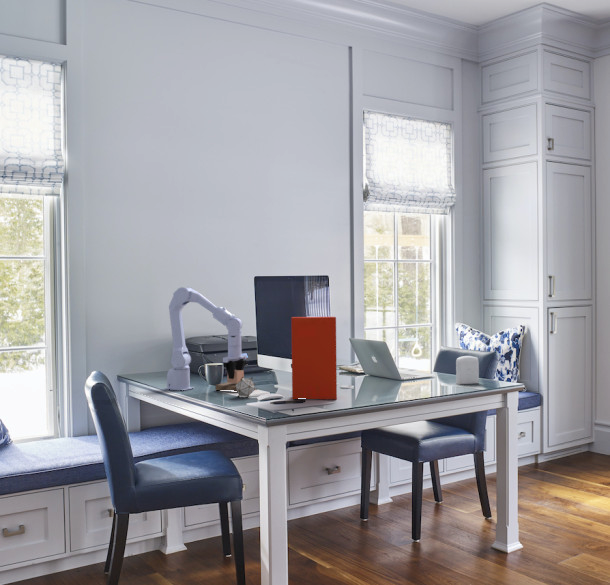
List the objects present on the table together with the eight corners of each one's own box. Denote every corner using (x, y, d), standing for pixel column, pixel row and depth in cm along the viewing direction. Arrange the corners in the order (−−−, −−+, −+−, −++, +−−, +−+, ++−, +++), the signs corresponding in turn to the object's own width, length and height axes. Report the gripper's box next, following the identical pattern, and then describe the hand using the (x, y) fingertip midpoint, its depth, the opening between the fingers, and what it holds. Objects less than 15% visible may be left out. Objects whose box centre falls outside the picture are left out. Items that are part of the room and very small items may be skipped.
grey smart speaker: (458, 384, 321) (458, 356, 320) (454, 383, 325) (454, 355, 325) (480, 383, 322) (480, 356, 322) (476, 382, 327) (476, 355, 326)
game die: (250, 406, 292) (265, 386, 292) (238, 401, 286) (253, 381, 285) (237, 393, 298) (251, 373, 298) (225, 388, 291) (240, 368, 291)
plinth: (215, 390, 309) (215, 385, 309) (232, 387, 319) (232, 381, 319) (238, 392, 303) (238, 386, 303) (254, 389, 313) (254, 383, 313)
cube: (227, 382, 310) (227, 370, 310) (233, 381, 314) (234, 369, 314) (237, 383, 308) (237, 371, 308) (243, 382, 312) (243, 370, 312)
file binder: (292, 396, 291) (291, 316, 291) (335, 396, 291) (334, 316, 291) (292, 400, 283) (291, 317, 282) (336, 399, 283) (336, 317, 283)
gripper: (232, 347, 303) (232, 380, 303) (252, 344, 315) (252, 376, 315) (218, 347, 306) (219, 379, 306) (238, 344, 319) (239, 375, 319)
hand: (235, 377), depth 311 cm, fingers closed on cube, 5 cm apart
